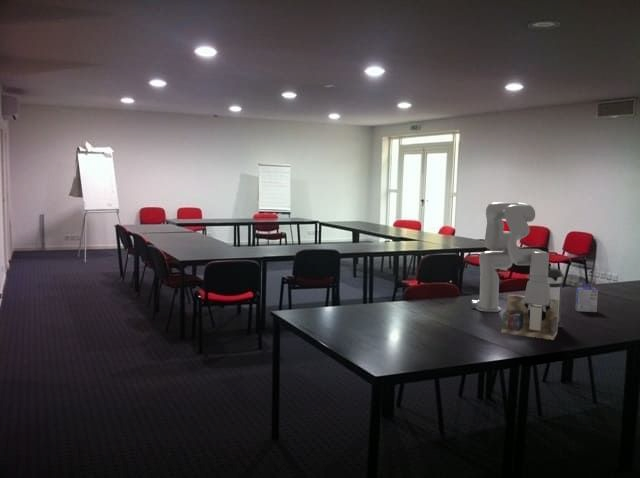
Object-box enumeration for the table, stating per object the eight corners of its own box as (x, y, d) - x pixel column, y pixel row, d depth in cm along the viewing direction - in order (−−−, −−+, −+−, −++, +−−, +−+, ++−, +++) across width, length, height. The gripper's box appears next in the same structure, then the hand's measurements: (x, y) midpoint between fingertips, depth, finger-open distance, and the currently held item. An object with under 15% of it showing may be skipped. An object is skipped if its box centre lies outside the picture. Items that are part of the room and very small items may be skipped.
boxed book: (529, 329, 240) (530, 307, 239) (532, 325, 247) (533, 303, 246) (540, 330, 238) (541, 308, 237) (543, 326, 245) (544, 305, 244)
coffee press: (568, 324, 261) (571, 262, 258) (555, 330, 250) (558, 266, 246) (532, 317, 273) (535, 258, 270) (518, 323, 262) (521, 262, 259)
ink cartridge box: (594, 310, 290) (595, 283, 289) (597, 312, 285) (598, 285, 284) (574, 309, 292) (575, 282, 291) (577, 311, 287) (578, 284, 285)
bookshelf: (501, 332, 245) (502, 299, 244) (506, 326, 256) (508, 294, 254) (553, 340, 234) (555, 304, 233) (557, 333, 244) (558, 299, 243)
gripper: (517, 278, 241) (515, 318, 243) (558, 282, 233) (555, 323, 235) (520, 275, 248) (518, 315, 250) (560, 279, 239) (558, 319, 241)
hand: (536, 318), depth 242 cm, fingers closed on boxed book, 4 cm apart
